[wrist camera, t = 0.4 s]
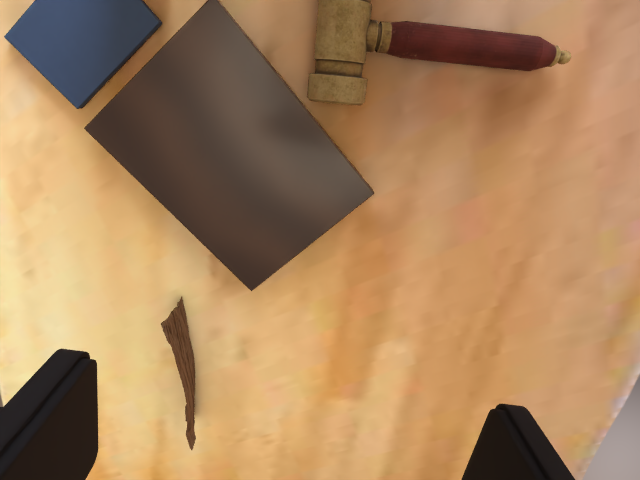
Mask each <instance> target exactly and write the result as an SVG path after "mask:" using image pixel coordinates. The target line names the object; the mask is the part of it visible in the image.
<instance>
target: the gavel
mask: <svg viewBox="0 0 640 480" xmlns="http://www.w3.org/2000/svg"><path fill="white" fill-rule="evenodd" d="M371 10H372V5H371V4H370V0H319V4H318V17H317V30H316V43H315V56H314V59H315V60H316V69H315V73H311V74H309V82H308V96H307V98H308V99H310V100H311V101H318V102H326V103H335V104H347V105H362V104H363V103H365V95H366V86H367V79H365V78H361V77H362V69H363V64H365V61H366V52H373V51H374V50H375V51H376V52H379V53H387V54H390V55H393V56H397V57H400V58H408V59H418V60H428V61H437V62H447V63H456V64H466V65H475V66H485V67H494V68H504V69H514V70H523V71H531V70H535V69H539V68H543V67H547V66H548V67H552V66H554V65H555V64H556V63H559V64H565V63H567V62H569V60H570V58H571V54H570V52H568V51H561V49H560V48H559V47H558V46H555V45H552V44H551V43H549V42H547V41H546V40H544V39H542V38H541V37H538V36H529V35H520V34H512V33H503V32H494V31H486V30H477V29H469V28H460V27H451V26H443V25H434V24H425V23H417V22H408V21H405V22H392V23H390V22H380V23H378V21H376V20H370V18H371Z"/></svg>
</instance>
